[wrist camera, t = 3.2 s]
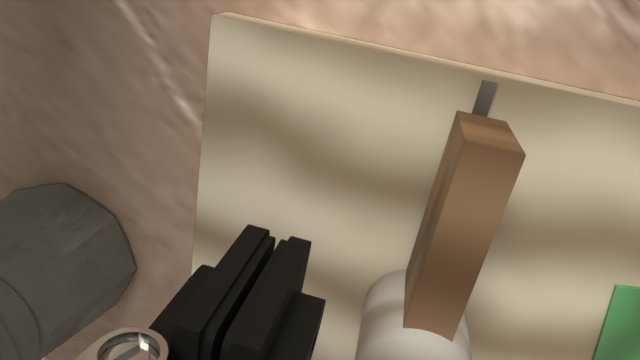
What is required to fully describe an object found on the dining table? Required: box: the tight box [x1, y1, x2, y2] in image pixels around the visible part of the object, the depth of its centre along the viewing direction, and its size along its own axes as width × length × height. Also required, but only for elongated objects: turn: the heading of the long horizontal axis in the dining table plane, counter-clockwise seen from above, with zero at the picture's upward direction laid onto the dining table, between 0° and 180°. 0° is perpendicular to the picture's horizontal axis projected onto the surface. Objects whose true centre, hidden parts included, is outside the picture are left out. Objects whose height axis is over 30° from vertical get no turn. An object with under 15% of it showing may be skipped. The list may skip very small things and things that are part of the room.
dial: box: [355, 110, 526, 360], centre depth 20 cm, size 13×5×5 cm, turn 170°
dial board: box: [191, 12, 640, 360], centre depth 25 cm, size 24×24×2 cm
